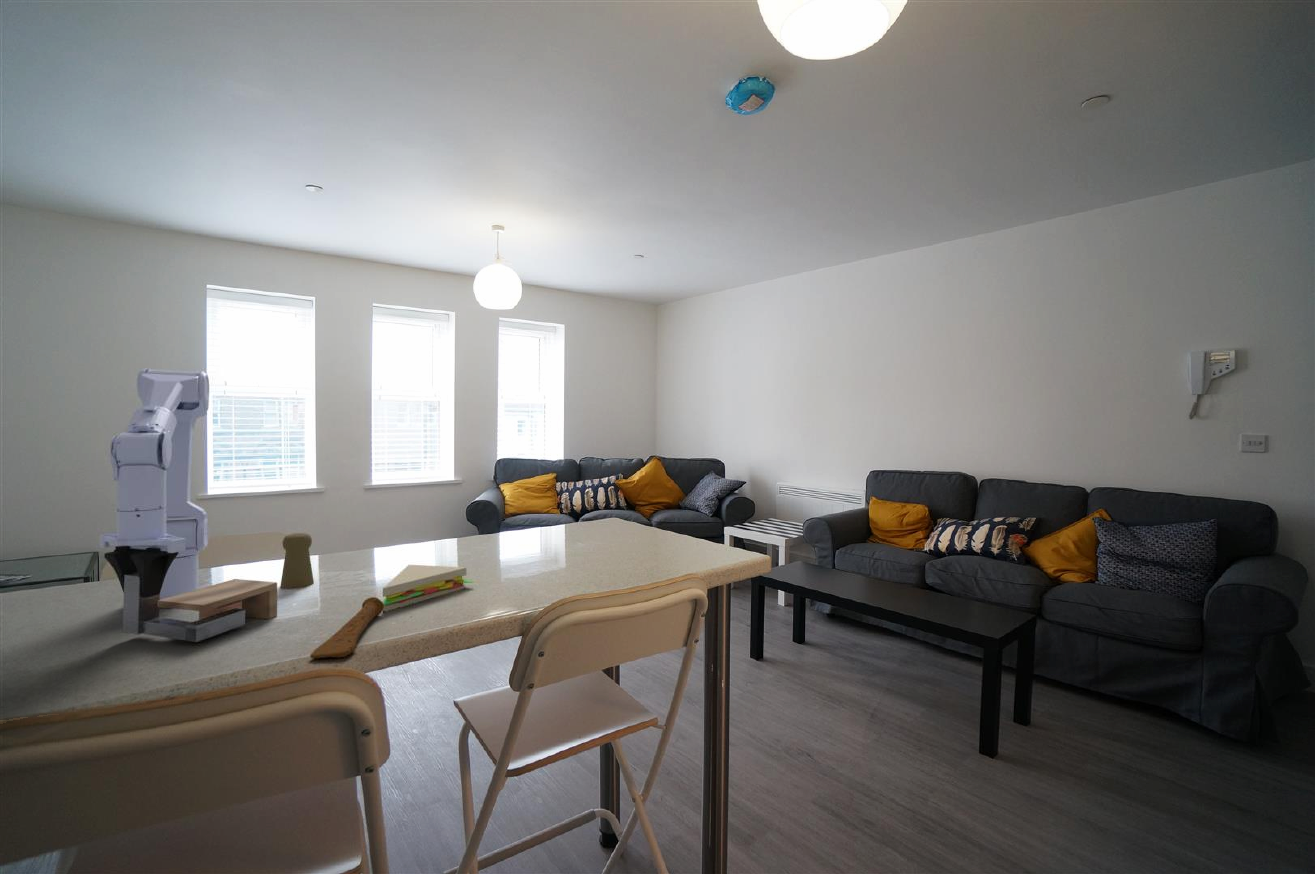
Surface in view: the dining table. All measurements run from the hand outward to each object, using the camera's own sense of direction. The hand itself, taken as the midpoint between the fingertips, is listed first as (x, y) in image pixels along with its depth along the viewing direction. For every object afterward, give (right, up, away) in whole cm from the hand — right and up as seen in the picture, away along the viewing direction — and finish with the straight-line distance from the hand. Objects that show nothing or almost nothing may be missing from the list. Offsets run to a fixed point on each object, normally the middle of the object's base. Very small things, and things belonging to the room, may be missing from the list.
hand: (142, 594), depth 88 cm
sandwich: (+32, -8, +23) cm, 40 cm away
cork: (+5, -7, +30) cm, 31 cm away
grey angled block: (+5, -6, +2) cm, 8 cm away
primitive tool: (+27, -6, 0) cm, 28 cm away
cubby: (+8, -7, +6) cm, 12 cm away
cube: (+8, -7, +6) cm, 12 cm away
